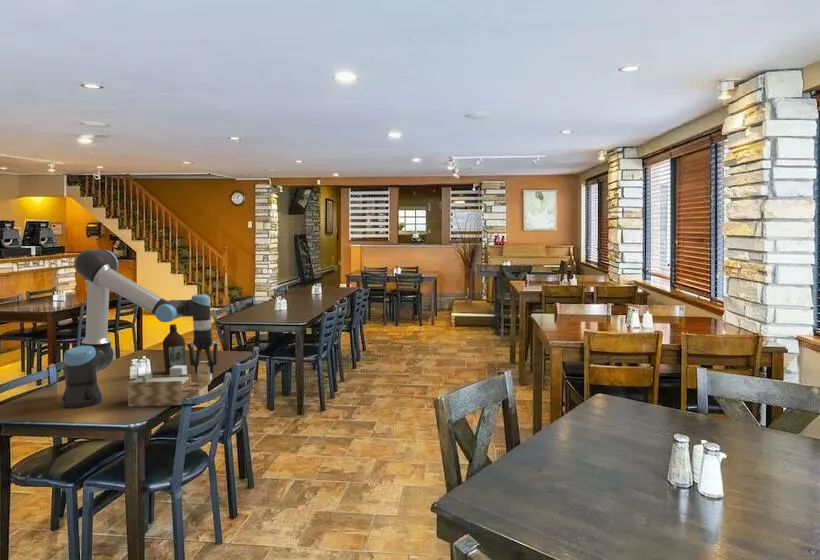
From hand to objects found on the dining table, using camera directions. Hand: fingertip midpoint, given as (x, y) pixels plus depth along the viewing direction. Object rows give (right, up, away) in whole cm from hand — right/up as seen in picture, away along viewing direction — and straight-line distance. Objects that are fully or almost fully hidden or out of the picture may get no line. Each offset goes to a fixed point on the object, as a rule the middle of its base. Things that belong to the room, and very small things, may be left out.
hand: (205, 380), depth 264 cm
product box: (-19, -4, +18) cm, 27 cm away
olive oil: (-28, -3, +36) cm, 46 cm away
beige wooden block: (0, -2, 0) cm, 2 cm away
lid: (-14, +2, -16) cm, 21 cm away
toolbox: (-10, -6, -15) cm, 19 cm away
